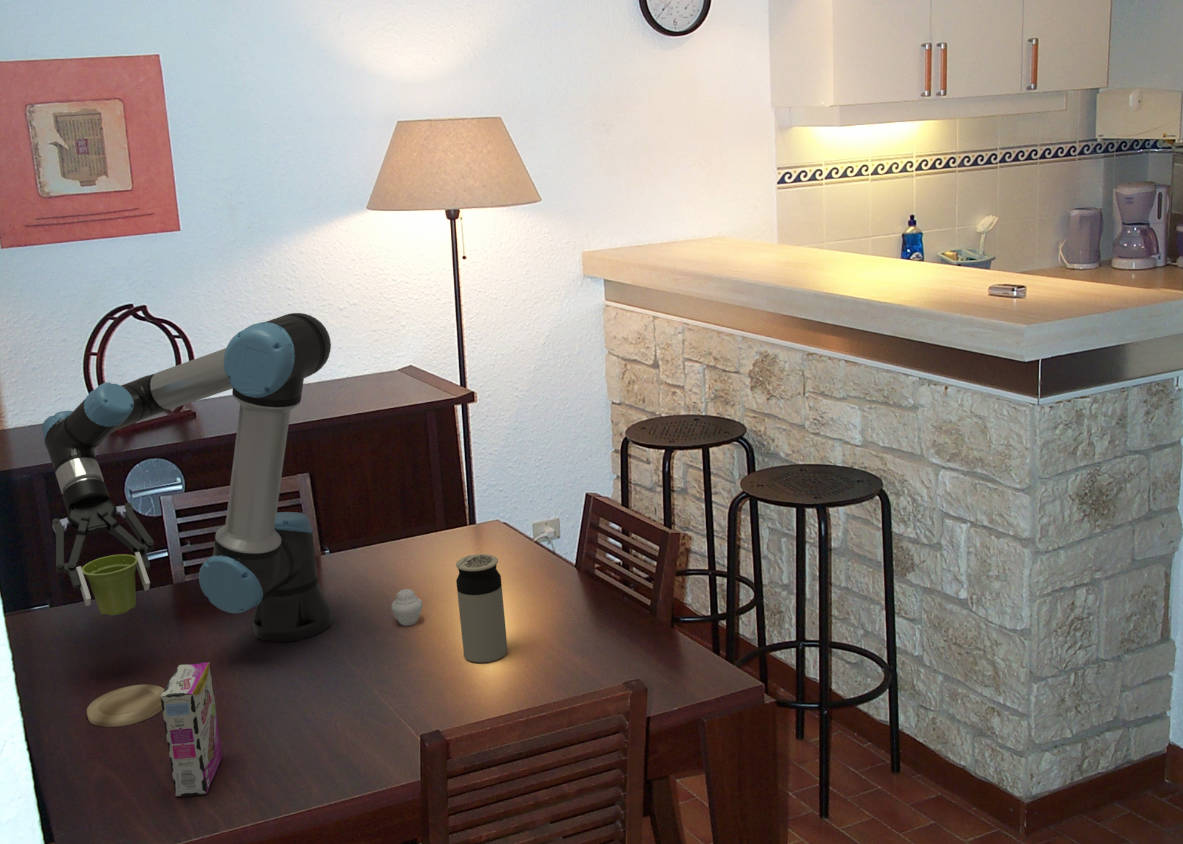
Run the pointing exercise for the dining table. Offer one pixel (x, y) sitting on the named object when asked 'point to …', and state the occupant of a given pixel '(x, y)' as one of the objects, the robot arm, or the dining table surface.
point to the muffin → (406, 607)
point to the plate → (125, 706)
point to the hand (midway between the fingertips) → (118, 594)
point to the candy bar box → (191, 729)
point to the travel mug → (481, 608)
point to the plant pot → (113, 582)
